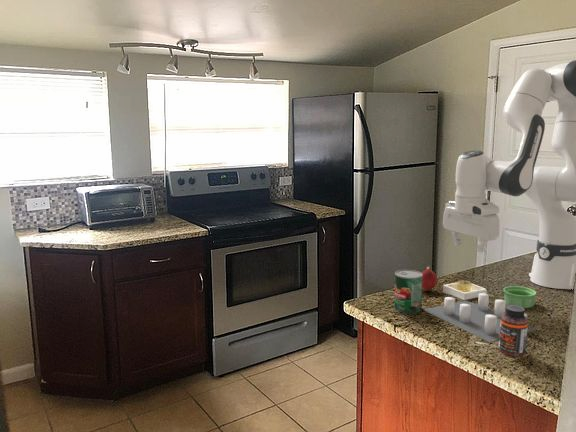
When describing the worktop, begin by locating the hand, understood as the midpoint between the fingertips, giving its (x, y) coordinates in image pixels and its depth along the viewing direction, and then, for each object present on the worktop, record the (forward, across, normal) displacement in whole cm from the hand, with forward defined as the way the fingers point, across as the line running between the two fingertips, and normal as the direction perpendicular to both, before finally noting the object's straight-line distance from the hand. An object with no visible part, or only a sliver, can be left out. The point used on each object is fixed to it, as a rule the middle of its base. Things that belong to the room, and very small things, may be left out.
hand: (468, 248), depth 162 cm
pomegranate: (+15, -8, -9) cm, 19 cm away
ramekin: (+16, +14, +6) cm, 22 cm away
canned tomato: (+14, +2, -25) cm, 29 cm away
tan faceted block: (+15, 0, -2) cm, 15 cm away
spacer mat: (+14, +17, -14) cm, 27 cm away
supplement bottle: (+14, +36, -22) cm, 44 cm away
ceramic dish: (+15, 0, -1) cm, 15 cm away
